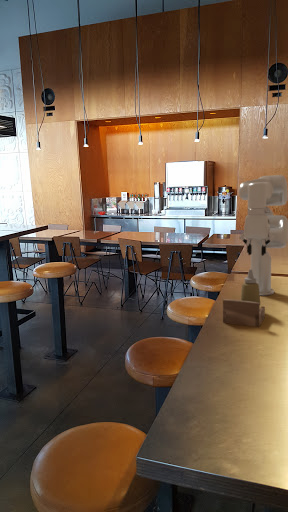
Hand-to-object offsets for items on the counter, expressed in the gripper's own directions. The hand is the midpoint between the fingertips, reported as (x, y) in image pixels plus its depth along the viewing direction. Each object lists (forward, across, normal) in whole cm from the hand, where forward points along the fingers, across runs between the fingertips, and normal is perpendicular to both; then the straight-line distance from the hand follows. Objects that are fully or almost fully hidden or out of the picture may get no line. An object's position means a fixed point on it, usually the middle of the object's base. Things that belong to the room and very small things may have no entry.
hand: (256, 254), depth 157 cm
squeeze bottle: (+23, 0, +11) cm, 25 cm away
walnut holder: (+22, 0, +21) cm, 31 cm away
